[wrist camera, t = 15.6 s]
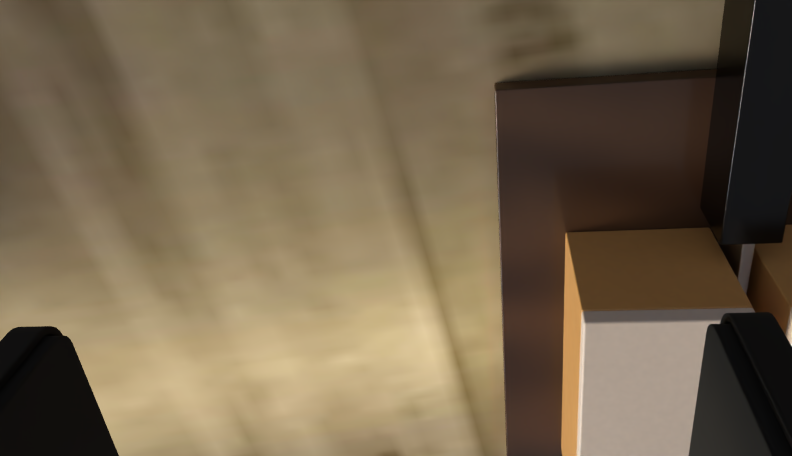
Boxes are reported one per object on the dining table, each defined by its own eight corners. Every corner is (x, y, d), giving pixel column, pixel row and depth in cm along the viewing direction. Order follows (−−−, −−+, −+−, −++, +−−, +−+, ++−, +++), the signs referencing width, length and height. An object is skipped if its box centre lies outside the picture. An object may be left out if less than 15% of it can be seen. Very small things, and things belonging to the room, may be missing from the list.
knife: (727, -26, 27) (756, -7, 24) (795, -32, 27) (832, -13, 24) (671, 435, 39) (686, 483, 36) (718, 435, 39) (736, 483, 36)
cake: (565, 231, 33) (583, 322, 27) (894, 220, 31) (989, 315, 26) (561, 447, 40) (575, 557, 34) (830, 448, 38) (893, 565, 32)
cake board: (494, 82, 31) (495, 90, 30) (1008, 49, 28) (1024, 57, 27) (506, 446, 42) (507, 460, 41) (878, 448, 39) (886, 462, 38)
